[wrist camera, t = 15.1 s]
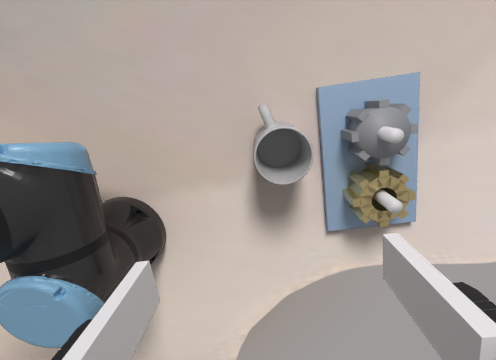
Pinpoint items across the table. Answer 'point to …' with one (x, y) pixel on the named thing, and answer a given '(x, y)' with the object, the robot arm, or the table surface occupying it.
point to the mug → (281, 150)
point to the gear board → (350, 163)
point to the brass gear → (368, 184)
